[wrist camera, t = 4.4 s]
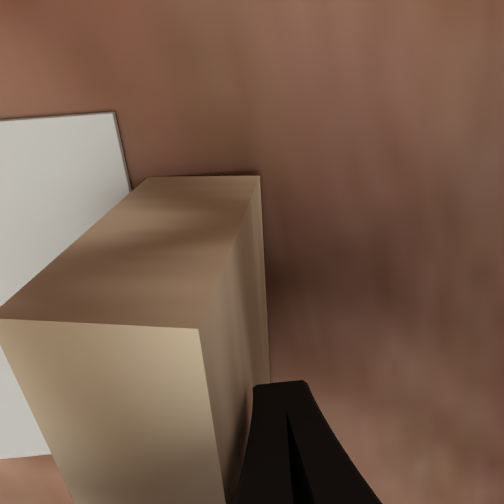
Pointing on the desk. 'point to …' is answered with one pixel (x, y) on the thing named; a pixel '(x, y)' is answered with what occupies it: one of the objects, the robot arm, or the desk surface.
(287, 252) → the desk surface
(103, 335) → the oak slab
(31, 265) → the light grey flat panel
